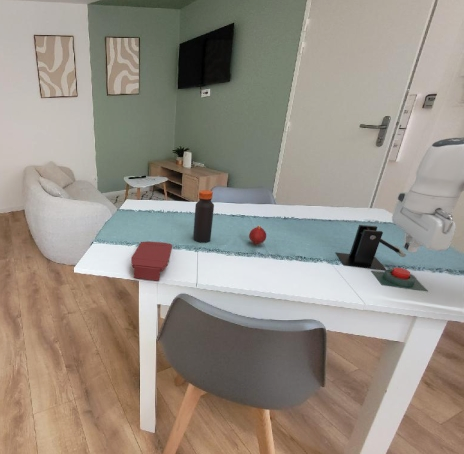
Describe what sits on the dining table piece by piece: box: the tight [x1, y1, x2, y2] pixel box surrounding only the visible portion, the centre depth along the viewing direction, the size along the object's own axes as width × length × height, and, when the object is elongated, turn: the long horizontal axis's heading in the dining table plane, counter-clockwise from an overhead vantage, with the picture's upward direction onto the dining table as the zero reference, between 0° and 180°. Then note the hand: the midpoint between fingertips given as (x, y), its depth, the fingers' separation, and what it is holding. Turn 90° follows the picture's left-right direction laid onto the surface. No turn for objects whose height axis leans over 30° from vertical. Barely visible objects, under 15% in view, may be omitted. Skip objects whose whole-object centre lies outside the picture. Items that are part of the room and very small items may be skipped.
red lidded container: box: [130, 240, 173, 282], centre depth 104 cm, size 12×5×25 cm
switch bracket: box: [335, 224, 387, 272], centre depth 93 cm, size 11×9×13 cm
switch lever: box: [360, 227, 407, 258], centre depth 91 cm, size 12×5×2 cm, turn 68°
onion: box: [248, 225, 267, 246], centre depth 110 cm, size 6×6×8 cm
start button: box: [391, 267, 411, 279], centre depth 84 cm, size 4×4×2 cm
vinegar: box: [192, 189, 215, 243], centre depth 114 cm, size 7×7×20 cm
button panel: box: [370, 268, 429, 293], centre depth 84 cm, size 10×8×3 cm
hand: (409, 250), depth 81 cm, fingers closed
